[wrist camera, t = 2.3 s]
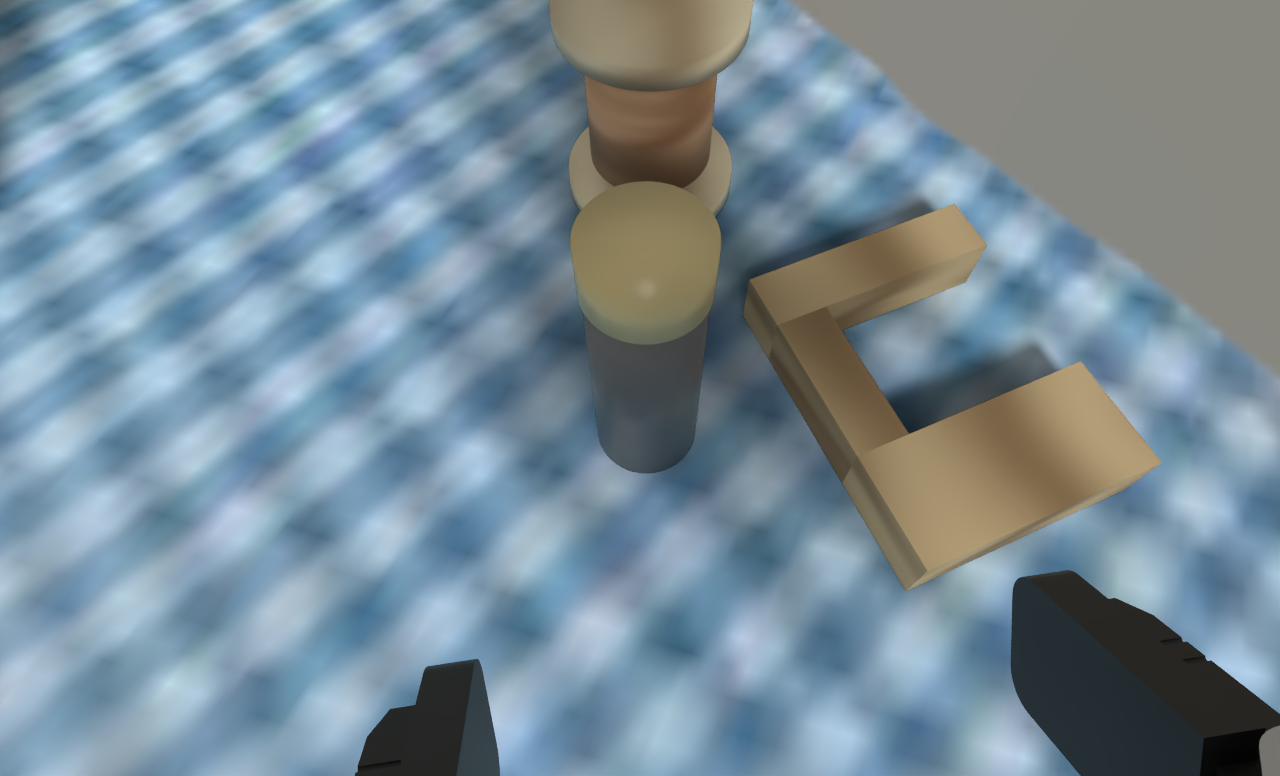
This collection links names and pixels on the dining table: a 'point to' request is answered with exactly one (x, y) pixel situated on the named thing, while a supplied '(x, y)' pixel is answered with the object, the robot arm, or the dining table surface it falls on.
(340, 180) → the dining table surface
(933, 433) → the tan c-shaped clamp
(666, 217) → the grey cylinder tan cap
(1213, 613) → the dining table surface
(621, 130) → the bobbin
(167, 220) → the dining table surface
